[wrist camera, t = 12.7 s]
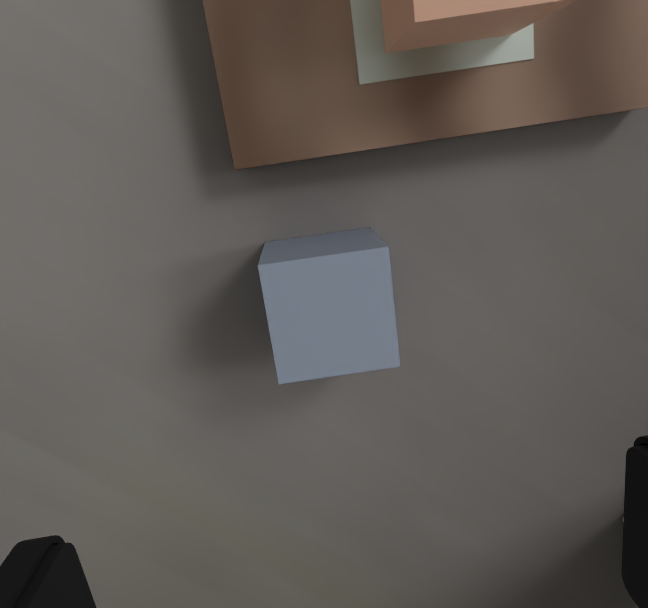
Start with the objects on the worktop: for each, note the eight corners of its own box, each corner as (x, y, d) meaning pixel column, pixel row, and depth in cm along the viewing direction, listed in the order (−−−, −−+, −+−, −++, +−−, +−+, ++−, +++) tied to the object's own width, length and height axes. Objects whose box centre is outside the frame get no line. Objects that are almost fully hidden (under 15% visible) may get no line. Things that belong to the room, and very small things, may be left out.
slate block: (369, 226, 24) (388, 246, 19) (380, 325, 25) (400, 366, 21) (265, 241, 24) (257, 265, 19) (281, 339, 25) (278, 384, 20)
